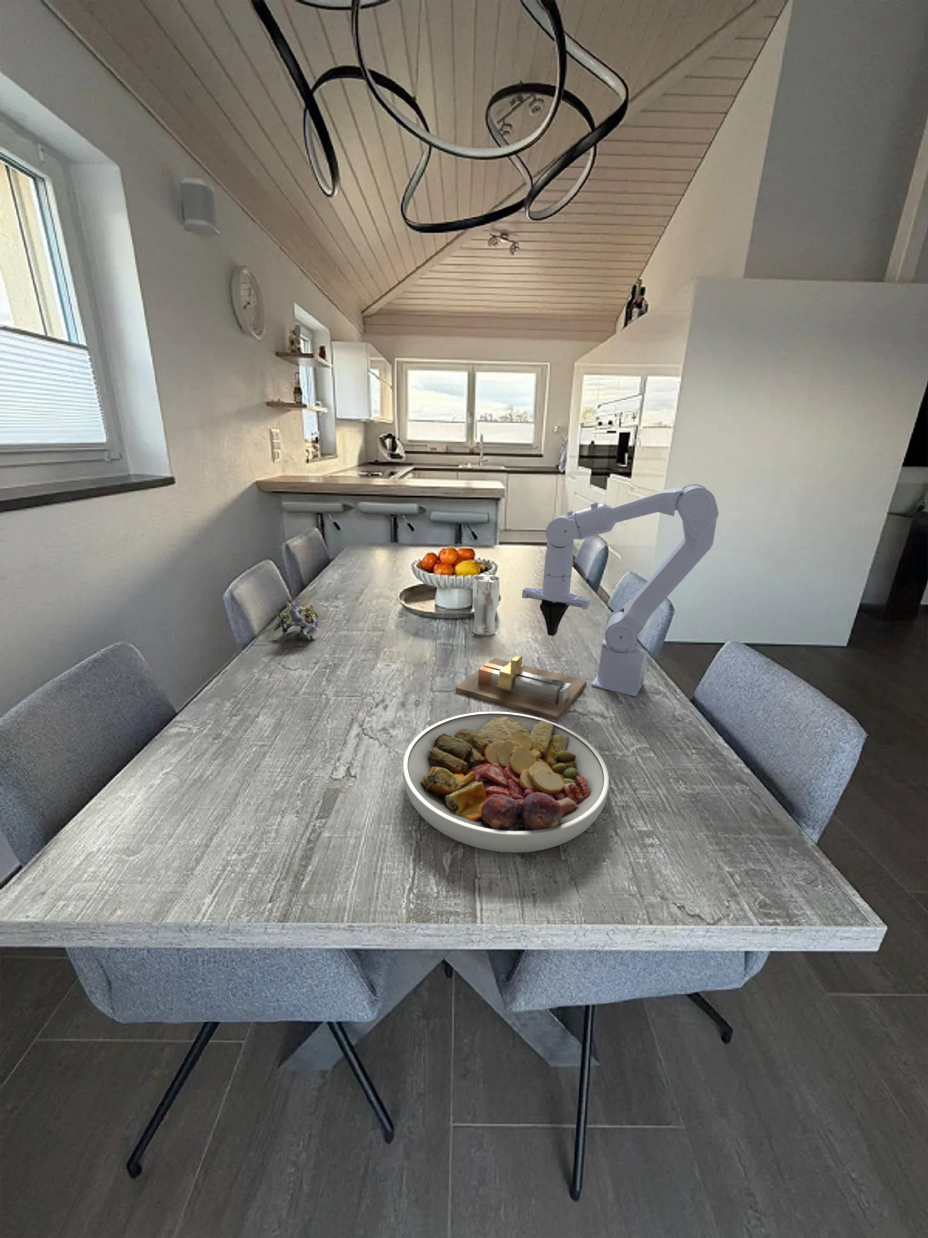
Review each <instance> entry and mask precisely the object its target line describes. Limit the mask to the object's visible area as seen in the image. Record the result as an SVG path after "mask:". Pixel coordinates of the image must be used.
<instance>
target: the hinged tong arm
mask: <svg viewBox="0 0 928 1238" xmlns="http://www.w3.org/2000/svg"><path fill="white" fill-rule="evenodd" d="M483 666H484V667H487V668H491V669H494V670H498V671H500V670H501V669H502V668H504V667H502V666H499V665H495V664H491V663H488V662H486V663H484V665H483ZM517 676H521V677H524V678H528V679H532V680H536V681H540V682H543V683H547V684H551V685H555V686H559V687H560V688H559V693H560V690H561V689H562V688H563V685H564V682H563V681H561V680H553V679H549V678H545V677H542V676H538V675H534V674H530V673H526V672H522V671H520V672H519V673H518V674H517ZM558 699H559V697H558Z"/></svg>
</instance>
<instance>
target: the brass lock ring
mask: <svg viewBox="0 0 928 1238" xmlns="http://www.w3.org/2000/svg"><path fill="white" fill-rule="evenodd" d="M509 662H510V663H509V664H507V665H506V666H505V667H504V668H502V669H501V670H500V671H499V675H498V681H497V687H499V688H503V689H506V690H510V691H511V690H512V681H513V678H514V677H515V676H516V675H517V674H518V673H519V672H520V671H521V670H523V665H524V664H522V663H523V655H521V654H517V655H515V656H514V657H513V658H512V659H511V660H510V661H509Z"/></svg>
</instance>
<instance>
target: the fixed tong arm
mask: <svg viewBox="0 0 928 1238" xmlns="http://www.w3.org/2000/svg"><path fill="white" fill-rule="evenodd" d="M483 666H484V665H483ZM483 666H481V667H480V668H479V669H478V670H479V675H478V683H479V684H483V685H487V686H490V687H494V688H497V689H501V690H505V691H508V692H512V693H515V694H519V695H522V696H526V697H530V698H533V699H537V700H540V701H544V702H547V703H551V704H556V703H557V702H558V697H559V702H558V706H563V705H564V704H565V702H566V701H567V700H568V699H569V695H570V687H571V683H566V684H565V685H564V686H563V688H562V689H561V690H560V693H559V688H560V687H559V686H555V685H551V684H547V683H543V682H540V681H536V680H532V679H528V678H524V677H521V676H517V675H516V676H515V677H514V678H513V681H512V690H511V691H510V690H506V689H503V688H499V687H497V681H498V675H499V671H498V670H494V669H491V668H487V667H483Z"/></svg>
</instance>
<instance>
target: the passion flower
mask: <svg viewBox="0 0 928 1238" xmlns="http://www.w3.org/2000/svg"><path fill="white" fill-rule="evenodd" d="M285 604H286V606H287V608H288V610H289V614H287V613H282V617H281V613H280V612H276V613H275V617H276V619H278V621H279V623H278V624H276V626H275V627H274V629H273V632H275V631H277V630H278V629H280V628H281V629H282V630H281V634H280V635H281V637H280V639H281V640H282V639H283V637H284V635H285V634H287V632H288V631H289V629H291V627H295V626H296V627H299V628H300V630H299V635H300V636H301V637H302V638H303V637H304V639H305V640H307V641H309V642H310V641H315V640H317V636H316V632H318V631H319V628H318V625H319V620H318V618H319V616H318V614H319V613H317V611H315V608H314V606H313V604H311V605H310V606H309V605H306V606H305V605H303V604H296V602H295V601H294V602H292V604H290V602H288V601H285ZM285 625H286V626H285Z"/></svg>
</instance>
